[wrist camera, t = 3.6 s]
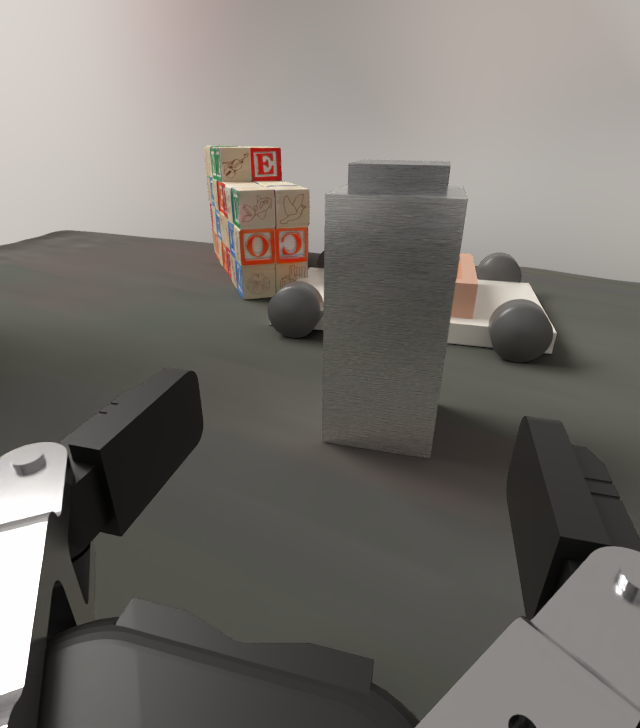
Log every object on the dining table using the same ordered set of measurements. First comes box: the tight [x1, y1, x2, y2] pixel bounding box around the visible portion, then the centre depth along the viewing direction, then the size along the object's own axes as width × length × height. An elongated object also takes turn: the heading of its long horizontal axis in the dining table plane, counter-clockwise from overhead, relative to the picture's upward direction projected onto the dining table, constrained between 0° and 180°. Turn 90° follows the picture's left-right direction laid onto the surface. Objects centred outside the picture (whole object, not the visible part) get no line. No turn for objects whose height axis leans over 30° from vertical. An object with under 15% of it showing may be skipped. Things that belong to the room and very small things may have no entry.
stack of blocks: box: [204, 145, 309, 299], centre depth 47 cm, size 21×6×12 cm, turn 19°
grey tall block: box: [322, 160, 468, 459], centre depth 20 cm, size 5×5×12 cm
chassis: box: [268, 251, 557, 362], centre depth 37 cm, size 20×16×4 cm
